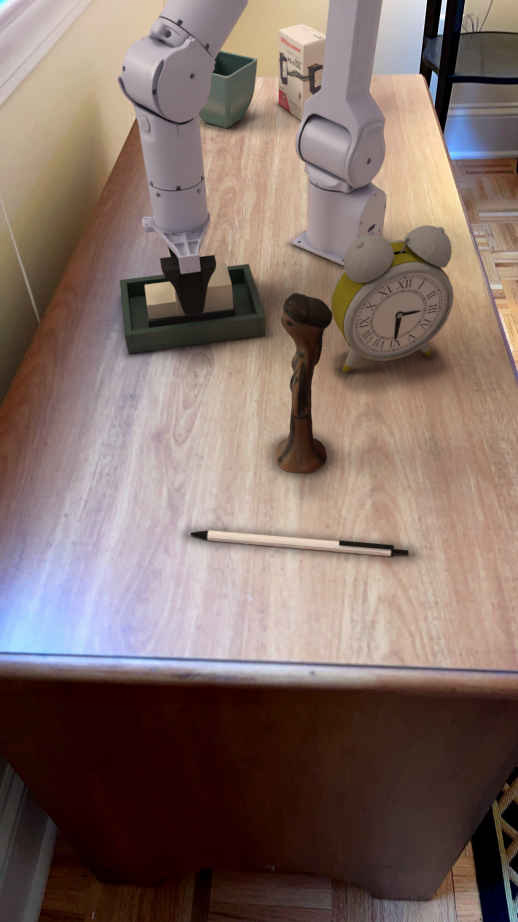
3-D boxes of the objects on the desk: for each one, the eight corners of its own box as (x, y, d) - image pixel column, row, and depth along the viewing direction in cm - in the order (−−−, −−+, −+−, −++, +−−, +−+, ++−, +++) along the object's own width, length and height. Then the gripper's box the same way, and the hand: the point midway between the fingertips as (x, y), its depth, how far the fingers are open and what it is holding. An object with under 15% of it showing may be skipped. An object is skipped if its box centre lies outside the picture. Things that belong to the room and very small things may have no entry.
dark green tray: (249, 281, 85) (248, 263, 83) (265, 335, 79) (265, 316, 77) (123, 298, 84) (119, 279, 82) (128, 353, 77) (124, 335, 75)
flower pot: (260, 116, 116) (258, 57, 110) (231, 136, 112) (228, 77, 105) (217, 105, 120) (213, 48, 113) (187, 125, 115) (181, 66, 108)
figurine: (279, 422, 69) (278, 268, 56) (328, 425, 69) (340, 271, 55) (272, 479, 65) (270, 325, 51) (326, 482, 64) (338, 328, 51)
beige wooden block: (229, 295, 83) (227, 262, 79) (235, 318, 80) (233, 284, 76) (146, 306, 82) (140, 272, 78) (149, 329, 79) (143, 296, 75)
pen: (407, 559, 59) (409, 552, 58) (188, 540, 61) (187, 533, 60) (407, 551, 59) (409, 543, 59) (190, 532, 61) (188, 525, 60)
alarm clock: (341, 383, 73) (352, 260, 62) (320, 343, 77) (327, 221, 66) (442, 362, 75) (471, 238, 63) (416, 324, 79) (439, 202, 68)
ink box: (276, 104, 119) (276, 27, 110) (301, 98, 121) (303, 21, 112) (301, 122, 114) (303, 43, 105) (327, 116, 116) (331, 37, 107)
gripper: (130, 148, 73) (149, 260, 83) (140, 219, 63) (160, 336, 74) (197, 140, 73) (207, 253, 84) (216, 210, 64) (225, 327, 74)
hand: (189, 291), depth 79 cm, fingers open, 7 cm apart
